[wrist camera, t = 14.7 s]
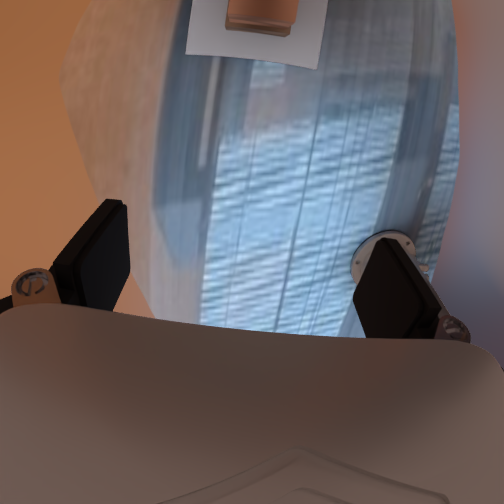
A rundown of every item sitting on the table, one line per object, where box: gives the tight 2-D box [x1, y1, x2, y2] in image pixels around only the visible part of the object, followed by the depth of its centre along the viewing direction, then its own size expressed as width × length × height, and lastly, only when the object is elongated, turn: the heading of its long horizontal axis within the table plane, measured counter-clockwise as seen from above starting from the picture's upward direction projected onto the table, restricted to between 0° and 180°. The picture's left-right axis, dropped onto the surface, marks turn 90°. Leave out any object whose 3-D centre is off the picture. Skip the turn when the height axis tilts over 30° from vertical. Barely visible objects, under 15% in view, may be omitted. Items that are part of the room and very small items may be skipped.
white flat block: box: [186, 0, 328, 70], centre depth 26 cm, size 16×14×5 cm
